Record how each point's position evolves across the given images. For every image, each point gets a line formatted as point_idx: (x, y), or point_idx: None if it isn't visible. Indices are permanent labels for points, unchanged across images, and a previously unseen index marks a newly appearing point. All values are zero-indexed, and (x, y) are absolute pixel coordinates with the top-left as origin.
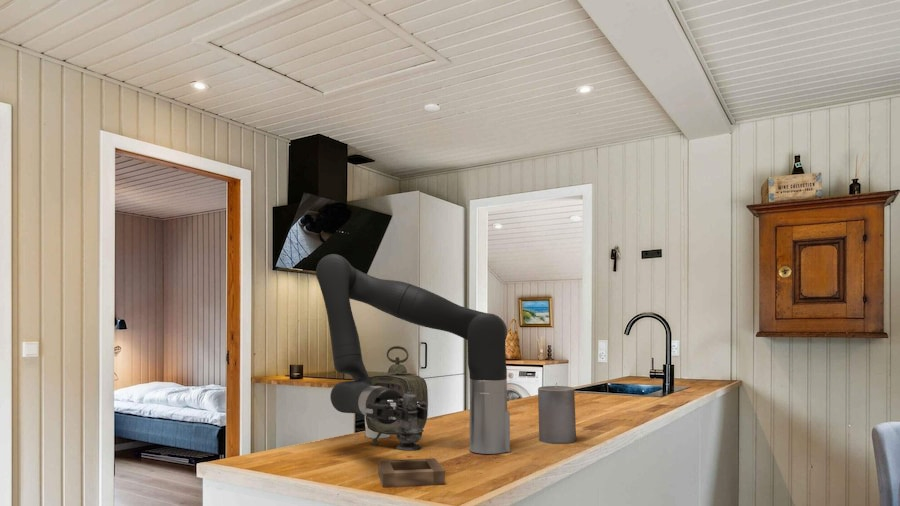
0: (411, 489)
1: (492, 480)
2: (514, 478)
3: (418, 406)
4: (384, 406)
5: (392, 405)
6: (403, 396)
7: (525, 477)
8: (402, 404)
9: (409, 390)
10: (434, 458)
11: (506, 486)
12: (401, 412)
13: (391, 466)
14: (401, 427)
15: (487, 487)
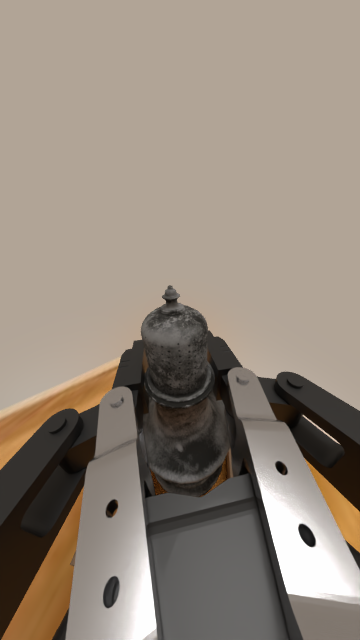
0: None
1: (81, 401)
2: (49, 401)
3: (130, 376)
4: (303, 384)
5: (262, 417)
6: (205, 321)
7: (33, 401)
8: (175, 518)
9: (175, 293)
10: (74, 560)
11: (95, 372)
12: (217, 338)
13: (231, 471)
14: (210, 403)
15: (115, 374)
